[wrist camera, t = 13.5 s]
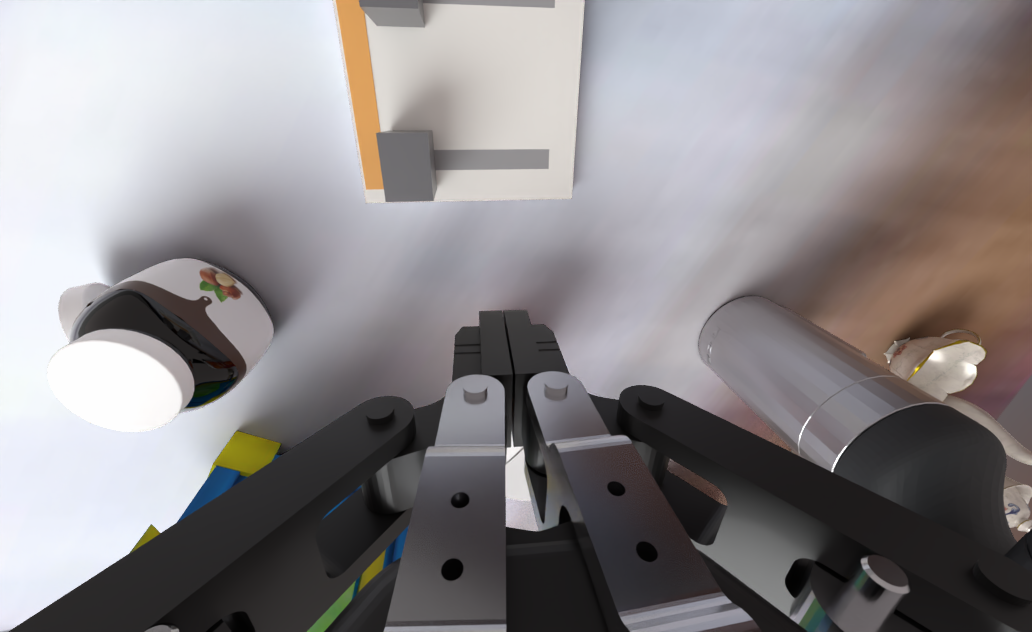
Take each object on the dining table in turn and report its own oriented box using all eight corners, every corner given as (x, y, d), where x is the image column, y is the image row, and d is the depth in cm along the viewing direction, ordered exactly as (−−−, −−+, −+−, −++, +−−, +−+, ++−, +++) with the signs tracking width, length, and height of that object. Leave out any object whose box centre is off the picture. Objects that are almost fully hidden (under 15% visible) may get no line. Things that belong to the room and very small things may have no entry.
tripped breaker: (432, 130, 28) (427, 132, 24) (437, 188, 30) (433, 201, 26) (388, 130, 28) (375, 132, 23) (396, 189, 30) (385, 202, 25)
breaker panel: (580, -53, 26) (589, -65, 25) (565, 194, 34) (571, 198, 32) (329, -67, 25) (319, -82, 23) (370, 198, 32) (365, 203, 30)
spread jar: (299, 324, 36) (234, 408, 25) (208, 388, 37) (114, 491, 27) (177, 213, 30) (34, 263, 20) (78, 293, 32) (-101, 377, 22)
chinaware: (885, 296, 45) (1077, 377, 30) (991, 338, 48) (1216, 431, 33) (746, 470, 56) (837, 594, 41) (840, 496, 59) (958, 621, 44)
